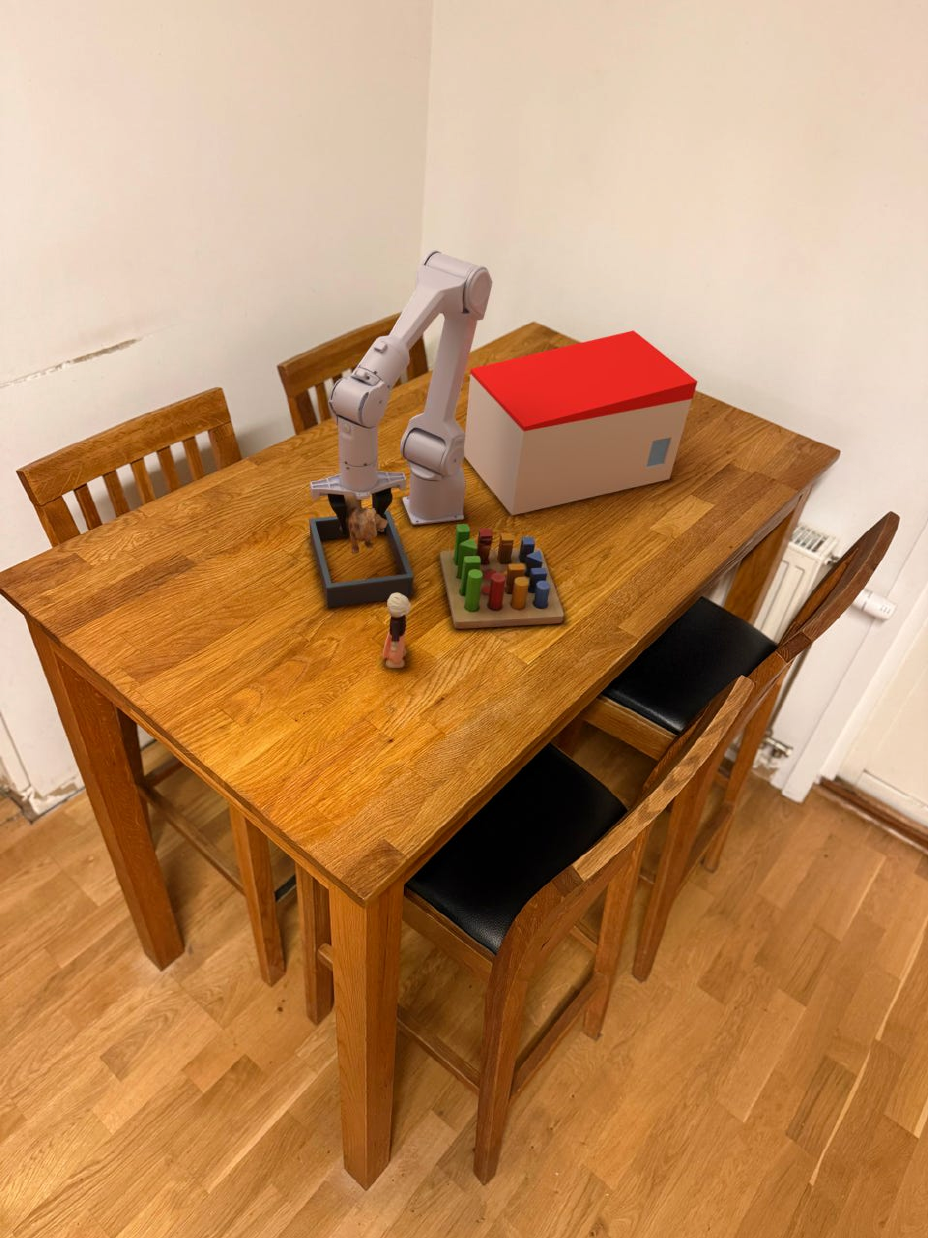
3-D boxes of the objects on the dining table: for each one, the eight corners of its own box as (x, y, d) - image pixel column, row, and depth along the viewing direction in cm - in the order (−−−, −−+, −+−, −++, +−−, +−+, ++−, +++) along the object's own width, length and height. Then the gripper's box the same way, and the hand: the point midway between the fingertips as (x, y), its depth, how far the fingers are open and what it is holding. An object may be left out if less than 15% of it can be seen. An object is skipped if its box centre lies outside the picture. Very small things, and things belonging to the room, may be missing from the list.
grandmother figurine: (382, 641, 133) (383, 578, 125) (407, 641, 134) (410, 578, 125) (382, 679, 128) (383, 615, 119) (409, 679, 128) (412, 615, 120)
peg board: (563, 624, 139) (572, 583, 133) (454, 630, 136) (458, 588, 131) (539, 553, 152) (546, 513, 146) (439, 558, 149) (441, 517, 143)
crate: (389, 529, 153) (389, 510, 151) (413, 596, 141) (413, 576, 138) (310, 538, 150) (308, 518, 147) (327, 608, 138) (326, 588, 135)
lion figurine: (391, 558, 138) (390, 512, 132) (360, 568, 136) (357, 522, 130) (354, 506, 147) (351, 461, 141) (324, 515, 146) (320, 469, 139)
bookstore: (671, 478, 172) (698, 381, 157) (512, 515, 159) (526, 412, 145) (613, 424, 185) (634, 330, 170) (462, 454, 172) (471, 355, 158)
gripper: (313, 475, 127) (317, 549, 136) (412, 466, 130) (409, 538, 140) (306, 449, 132) (310, 522, 141) (401, 440, 135) (399, 512, 145)
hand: (359, 528), depth 141 cm, fingers closed on lion figurine, 4 cm apart
